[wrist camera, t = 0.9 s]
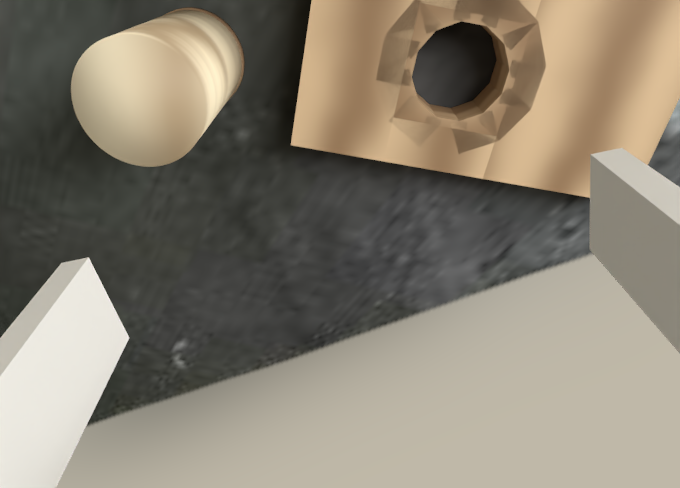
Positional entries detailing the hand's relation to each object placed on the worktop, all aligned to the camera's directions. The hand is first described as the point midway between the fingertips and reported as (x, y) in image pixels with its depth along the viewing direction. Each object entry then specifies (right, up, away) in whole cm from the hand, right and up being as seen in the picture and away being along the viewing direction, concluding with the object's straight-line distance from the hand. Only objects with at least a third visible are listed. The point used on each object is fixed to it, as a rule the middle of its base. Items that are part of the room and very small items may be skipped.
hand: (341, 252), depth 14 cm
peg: (-8, +12, +20) cm, 24 cm away
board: (+9, +13, +19) cm, 25 cm away
